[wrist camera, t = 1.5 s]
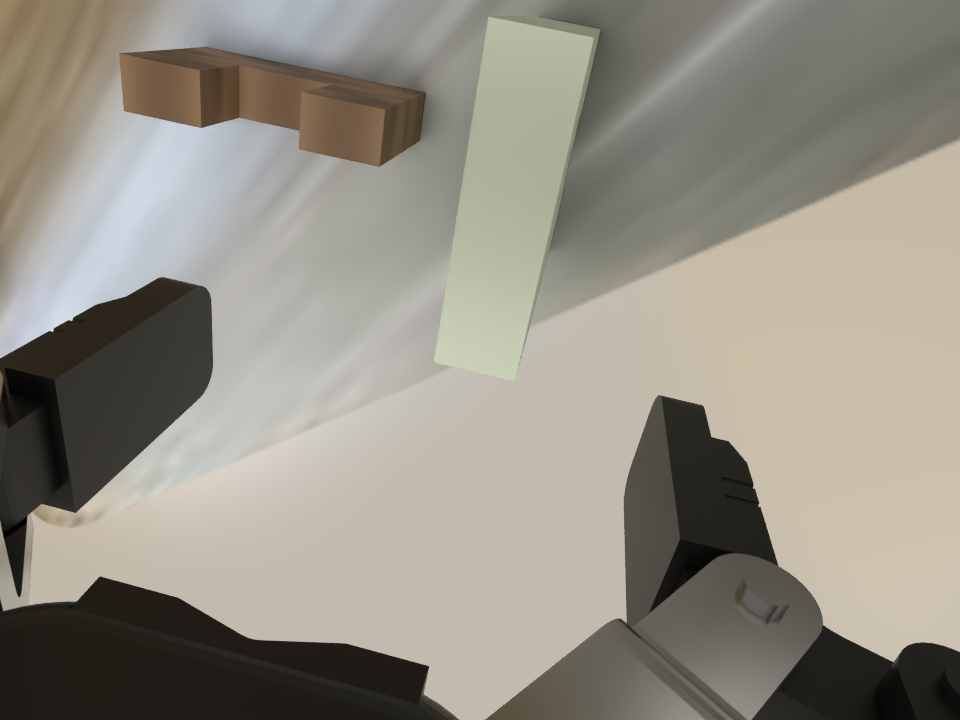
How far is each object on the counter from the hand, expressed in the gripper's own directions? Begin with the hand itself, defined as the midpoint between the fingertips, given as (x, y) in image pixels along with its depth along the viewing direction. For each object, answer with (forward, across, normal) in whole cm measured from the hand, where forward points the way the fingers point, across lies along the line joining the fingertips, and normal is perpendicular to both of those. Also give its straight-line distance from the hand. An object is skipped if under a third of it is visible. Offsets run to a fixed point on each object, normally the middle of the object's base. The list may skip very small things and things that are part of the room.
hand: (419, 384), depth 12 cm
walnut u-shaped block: (+26, +13, 0) cm, 29 cm away
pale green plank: (+26, 0, 0) cm, 26 cm away
